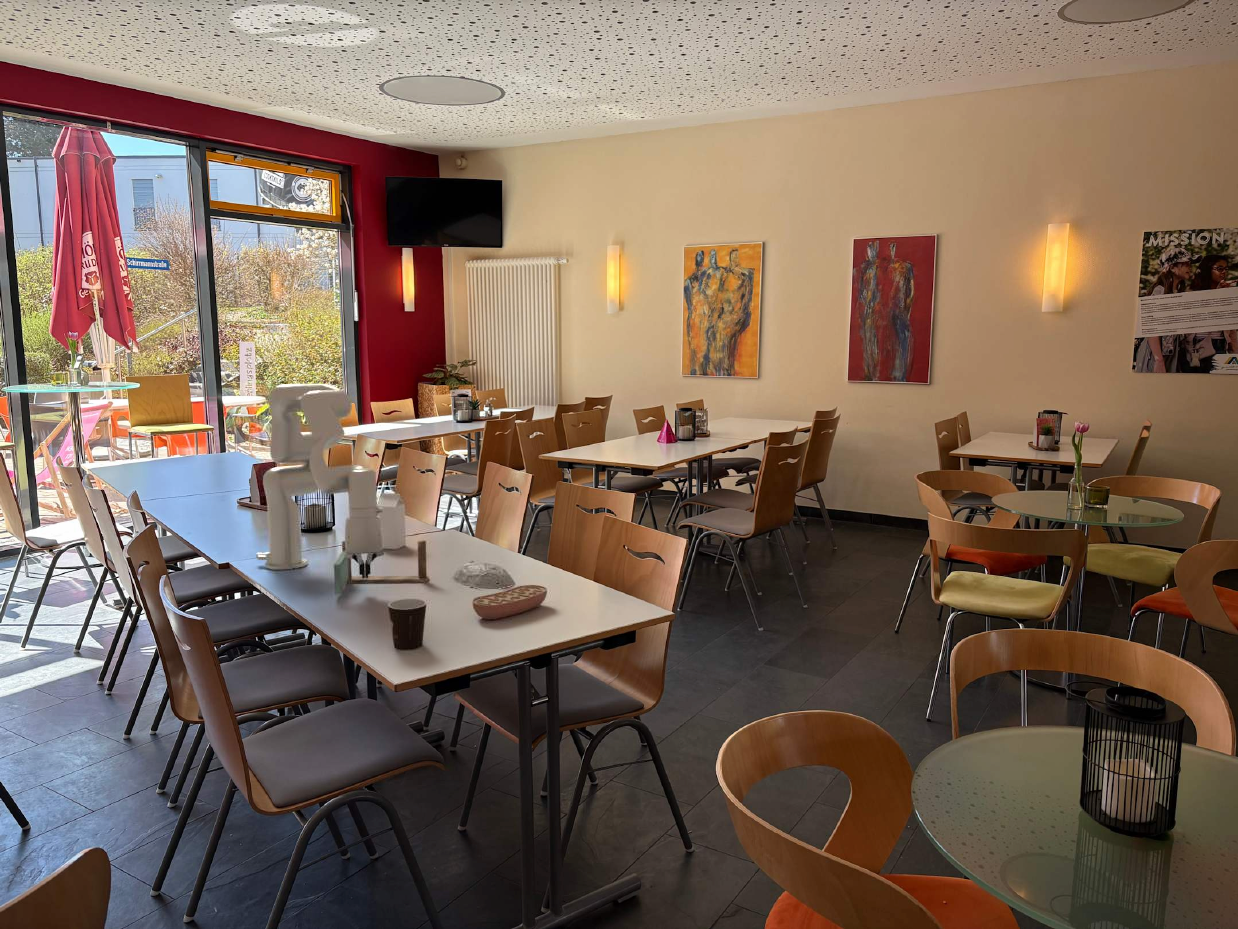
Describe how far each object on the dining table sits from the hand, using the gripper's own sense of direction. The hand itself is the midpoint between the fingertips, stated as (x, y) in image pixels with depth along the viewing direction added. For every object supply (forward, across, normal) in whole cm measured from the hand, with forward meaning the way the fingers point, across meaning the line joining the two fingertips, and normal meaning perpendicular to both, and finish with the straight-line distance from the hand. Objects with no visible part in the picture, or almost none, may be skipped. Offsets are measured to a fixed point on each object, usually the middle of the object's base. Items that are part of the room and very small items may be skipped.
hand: (365, 577), depth 243 cm
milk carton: (+5, -10, -59) cm, 60 cm away
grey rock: (+6, -34, -5) cm, 35 cm away
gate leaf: (+3, +6, -5) cm, 8 cm away
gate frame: (+5, -6, -12) cm, 15 cm away
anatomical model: (+5, -36, +30) cm, 47 cm away
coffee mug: (+5, -8, +50) cm, 51 cm away
